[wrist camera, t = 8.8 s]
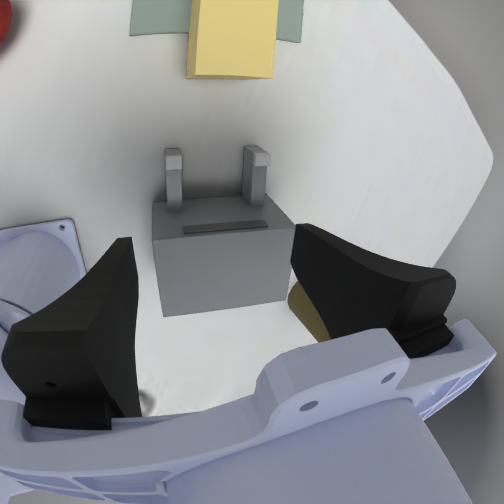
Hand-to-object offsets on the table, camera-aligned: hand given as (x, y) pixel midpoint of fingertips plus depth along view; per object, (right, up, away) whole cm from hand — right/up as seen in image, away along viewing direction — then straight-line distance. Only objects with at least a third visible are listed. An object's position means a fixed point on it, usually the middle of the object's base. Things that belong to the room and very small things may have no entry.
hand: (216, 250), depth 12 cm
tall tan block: (-1, +15, +3) cm, 15 cm away
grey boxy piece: (-2, +3, +11) cm, 11 cm away
